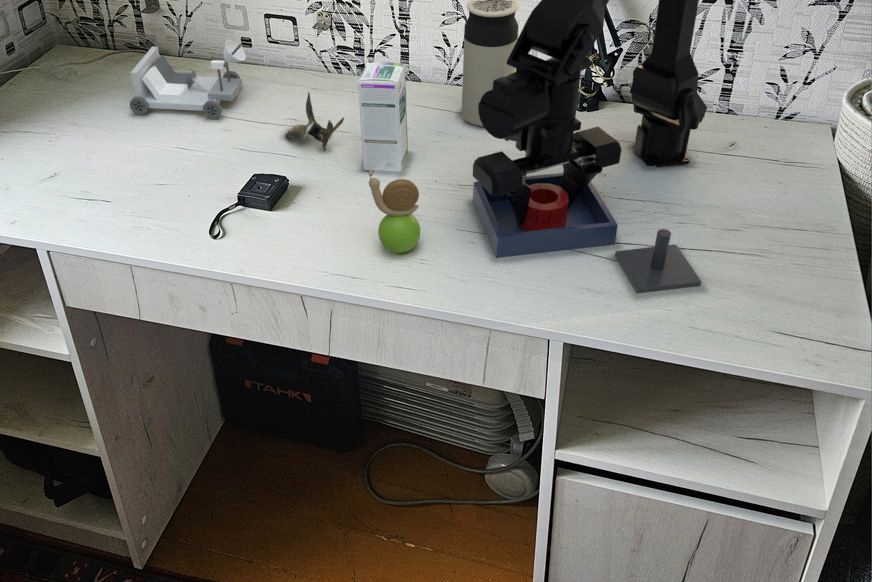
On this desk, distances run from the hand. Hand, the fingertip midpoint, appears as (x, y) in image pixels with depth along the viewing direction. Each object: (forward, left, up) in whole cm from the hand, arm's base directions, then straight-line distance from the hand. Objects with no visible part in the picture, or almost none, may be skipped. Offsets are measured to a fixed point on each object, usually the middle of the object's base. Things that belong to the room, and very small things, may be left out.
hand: (541, 216), depth 125 cm
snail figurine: (+20, +2, -1) cm, 20 cm away
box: (0, 0, -1) cm, 1 cm away
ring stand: (-11, +13, -1) cm, 17 cm away
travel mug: (0, -31, -1) cm, 31 cm away
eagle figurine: (+28, -29, -1) cm, 40 cm away
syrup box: (+18, -20, -1) cm, 27 cm away
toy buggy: (+46, -46, -1) cm, 65 cm away
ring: (0, 0, -1) cm, 1 cm away
